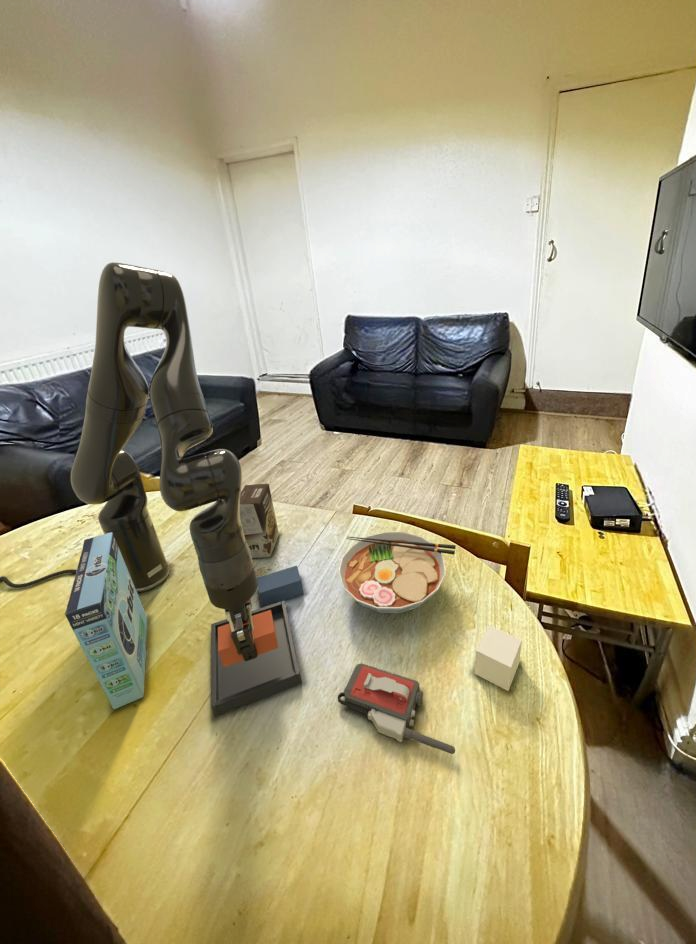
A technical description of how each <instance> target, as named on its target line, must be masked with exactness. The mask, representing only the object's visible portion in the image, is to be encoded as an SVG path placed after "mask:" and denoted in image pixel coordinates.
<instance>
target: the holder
mask: <svg viewBox="0 0 696 944" xmlns="http://www.w3.org/2000/svg"><path fill="white" fill-rule="evenodd" d="M269 610H271V613H272V617H273V621H274V625H275V631H276V636H277V642H278V648H277V649H274V650H271V651H268V652H266V653H263V654H260V655H258V656H257V657H256V658H254V659H252V660H249V661H244V660H243V661H241V662H238V663H235V664H232V665H230V666H227V667H223V664H222V661H221V658H220V655H219V652H218V627H220V626H223V625H226V624H229V621H228V620H227V618H225V619H222V620H219V621H216V622H214V623H211V624H210V628H211V629H210V708H211V710H212V714H213V715H214V717H215V718H216V717H218V716H221V715H223V714H227V713H229V712H231V711H234V710H237V709H239V708H241V707H244V706H247V705H249V704H253V703H255V702H257V701H260V700H262V699H264V698H267V697H270V696H272V695H274V694H277V693H280V692H283V691H285V690H288V689H290V688H293V687H295V686H298V685H300V684H302V683H303V680H302V676H301V671H300V666H299V661H298V656H297V652H296V647H295V642H294V638H293V632H292V628H291V623H290V619H289V614H288V609H287V605H286V600H283V601H279V602H276V603H273V604H270V605H267V606H264V607H262V606H261V607H260V608H256V609H252V616H253V615H256V614H259V613H262V612H266V611H269Z"/></svg>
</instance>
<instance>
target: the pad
mask: <svg viewBox="0 0 696 944" xmlns="http://www.w3.org/2000/svg"><path fill="white" fill-rule="evenodd" d="M252 618H253V622H254V630H253V631H252V632H253V637H254V638H255V641H254V642H255V646H256V649H257V654H258V655H260V654H263V653H266V652H268V651H271V650H274V649H277V648H278V642H277V636H276V631H275V625H274V621H273V617H272V613H271V610H269V611H266V612H262V613H259V614H256V615H253V616H252ZM248 620H249V618H248ZM247 624H249V621H248V622H247V623H245V624H243V626H244V625H247ZM234 625H235V624H234ZM235 627H236V625H235ZM231 635H232V634H231V628H230V624H226V625H223V626H220V627H218V652H219V655H220V658H221V661H222V664H223V667H227V666H230V665H232V664H235V663H238V662H241V661H243V660H244V658H243V655H242V654H241V655H239V654H238V653H237V649H236V647H235V644H234V642H233V639H232V638H231Z"/></svg>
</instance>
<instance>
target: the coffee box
mask: <svg viewBox="0 0 696 944" xmlns="http://www.w3.org/2000/svg"><path fill="white" fill-rule="evenodd" d="M272 497H273V496H272V492H271V488H270V483H257V484H256V483H255V484H245V485H244V486H243V488H242V489H241V495H240V520H241V524H242V528H243V532H244V536H245V540H246V542H247V545H248V547H249V549H250V552H251V556H252V559H253V558H256V559H257V558H271V556H272V553H273V551H274V548H275V546H276V543H277V541H278V539H279V536H280V531H279V527H278V523H277V517H276V513H275V508H274V502H273V498H272Z"/></svg>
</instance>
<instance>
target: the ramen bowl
mask: <svg viewBox="0 0 696 944" xmlns="http://www.w3.org/2000/svg"><path fill="white" fill-rule="evenodd" d="M345 539H346V540H351V541H357V542H355V543H353V544H352V545H351V546H349V548H348V549H347V551H346V552H345V553H344V554H343V555H342V557H341V559H340V563H339V568H338V572H337V573H338V577H339V580H340V584H341V587H342V589H343V590H344V591H345V592H346V593H347V594H348V595H349V596H350V597H351V598H352V599H353V600H355V601H356V602H357V603H358V604H359V605H361V606H362V607H364V608H367V609H370V610H372V611H375V612H378V613H380V614H402V613H404V612H407V611H411V610H414V609H417V608H419V607H420V606H421V605H423V604H424V603H426V601H428V600H429V599H430V598H431V597H433V596H434V595H435V594H436V593H437V591H439V589H440V586H441V585H442V582H443V581H444V580H445V579H444V578H445V576H446V574H447V570H446V561H445V560H446V559H445V557H444V556H443V554H446V555H455V554H456V551H455V550H456V549H457V548H456V547H457V546H456V544H446V543H445V544H444V543H434V542H432V541H429V540H428V539H427V538H425V537H423V536H421V535H418V534H415V533H410V532H407V531H383V532H382V531H381V532H378V533H374V534H370V535H367V536H366V537H359V536H358V537H357V536H347V537H346V538H345Z"/></svg>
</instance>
